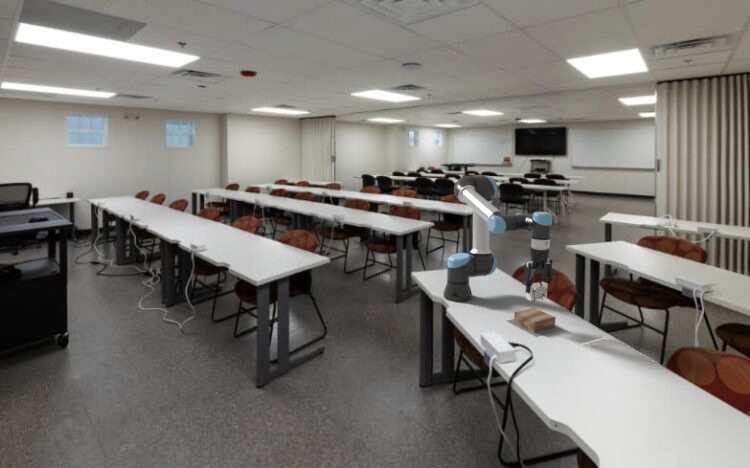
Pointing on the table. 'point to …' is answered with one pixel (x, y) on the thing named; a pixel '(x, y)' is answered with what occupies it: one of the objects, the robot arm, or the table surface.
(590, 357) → the table surface
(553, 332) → the build mat
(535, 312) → the base block
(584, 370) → the table surface
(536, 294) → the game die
